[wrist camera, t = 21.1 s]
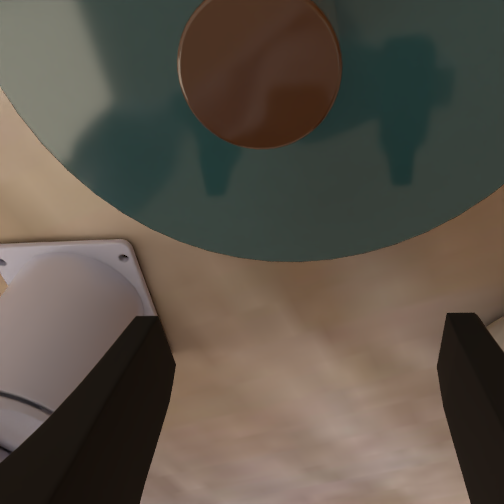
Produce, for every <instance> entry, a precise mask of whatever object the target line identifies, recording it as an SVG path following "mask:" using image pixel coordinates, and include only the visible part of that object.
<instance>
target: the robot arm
mask: <svg viewBox="0 0 504 504" xmlns="http://www.w3.org/2000/svg"><path fill="white" fill-rule="evenodd" d="M122 254H123V255H126V256H127V257H124V256H123V255H122ZM0 273H1V275H2V277H3V278H4V280H5V281H6V283H7V285H8V287H7V288H6V290H5V291H4V293H3V294H2V295H1V297H0V504H140V500H141V496H142V492H143V489H144V485H145V481H146V478H147V475H148V471H149V468H150V465H151V462H152V458H153V455H154V452H155V449H156V445H157V442H158V439H159V435H160V432H161V429H162V426H163V422H164V419H165V415H166V412H167V409H168V405H169V402H170V397H171V391H172V386H173V380H174V373H175V367H176V363H175V361H174V358H173V355H172V353H171V350H170V347H169V344H168V342H167V339H166V336H165V333H164V331H163V328H162V325H161V323H160V320H159V317H158V315H157V313H156V310H155V307H154V305H153V302H152V299H151V296H150V294H149V291H148V288H147V285H146V283H145V280H144V277H143V275H142V272H141V269H140V266H139V264H138V261H137V258H136V255H135V253H134V250H133V247H132V245H131V244H130V243H129V242H128V241H126V240H124V239H106V240H81V241H57V242H32V243H8V244H0ZM437 370H438V377H439V383H440V390H441V396H442V401H443V407H444V411H445V415H446V418H447V422H448V425H449V429H450V432H451V436H452V440H453V443H454V447H455V450H456V453H457V457H458V460H459V464H460V467H461V471H462V474H463V478H464V481H465V485H466V488H467V492H468V495H469V499H470V503H471V504H504V352H503V350H502V349H501V348H500V346H499V345H498V343H497V342H496V341H495V339H494V338H493V337H492V335H491V334H490V332H489V331H488V330H487V328H486V327H485V325H484V324H483V322H482V321H481V320H480V318H479V317H478V316H477V315H476V314H475V313H447V315H446V321H445V326H444V331H443V337H442V342H441V348H440V353H439V358H438V364H437Z"/></svg>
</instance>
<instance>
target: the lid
mask: <svg viewBox="0 0 504 504" xmlns="http://www.w3.org/2000/svg"><path fill="white" fill-rule="evenodd" d="M0 87H1V88H2V90H3V92H4V93H5V95H6V96H7V98H8V99H9V101H10V102H11V104H12V105H13V107H14V108H15V110H16V111H17V113H18V114H19V116H20V117H21V118H22V119H23V121H24V122H25V123H26V124H27V126H28V127H29V128H30V129H31V131H32V132H33V133H34V134H35V135H36V137H37V138H38V139H39V140H40V142H41V143H42V144H43V145H44V146H45V147H46V148H47V149H48V150H49V151H50V153H51V154H52V155H53V156H54V157H55V158H56V159H57V160H58V161H59V162H60V163H61V164H62V165H63V166H64V167H65V168H66V169H67V170H68V171H69V172H70V173H71V174H73V175H74V176H75V177H76V178H77V179H78V180H80V181H81V182H82V183H83V184H84V185H86V186H87V187H88V188H89V189H90V190H91V191H93V192H94V193H95V194H96V195H98V196H99V197H101V198H102V199H103V200H105V201H106V202H108V203H109V204H111V205H112V206H113V207H115V208H116V209H118V210H119V211H121V212H122V213H124V214H125V215H127V216H129V217H131V218H133V219H134V220H136V221H138V222H140V223H141V224H143V225H145V226H147V227H149V228H150V229H152V230H155V231H157V232H159V233H162V234H164V235H166V236H168V237H171V238H173V239H175V240H177V241H180V242H183V243H186V244H189V245H192V246H195V247H198V248H201V249H204V250H207V251H211V252H215V253H220V254H224V255H229V256H233V257H238V258H245V259H253V260H262V261H272V262H307V261H319V260H332V259H337V258H343V257H348V256H354V255H359V254H364V253H367V252H371V251H374V250H378V249H381V248H385V247H388V246H392V245H395V244H398V243H400V242H403V241H405V240H408V239H410V238H413V237H415V236H418V235H420V234H423V233H425V232H428V231H429V230H431V229H433V228H435V227H437V226H439V225H441V224H443V223H445V222H447V221H449V220H451V219H453V218H455V217H457V216H458V215H460V214H462V213H463V212H465V211H466V210H468V209H469V208H471V207H472V206H474V205H475V204H477V203H479V202H480V201H482V200H483V199H485V198H486V197H488V196H489V195H491V194H492V193H493V192H495V191H496V190H497V189H498V188H500V187H501V186H502V185H503V184H504V0H0Z"/></svg>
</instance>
